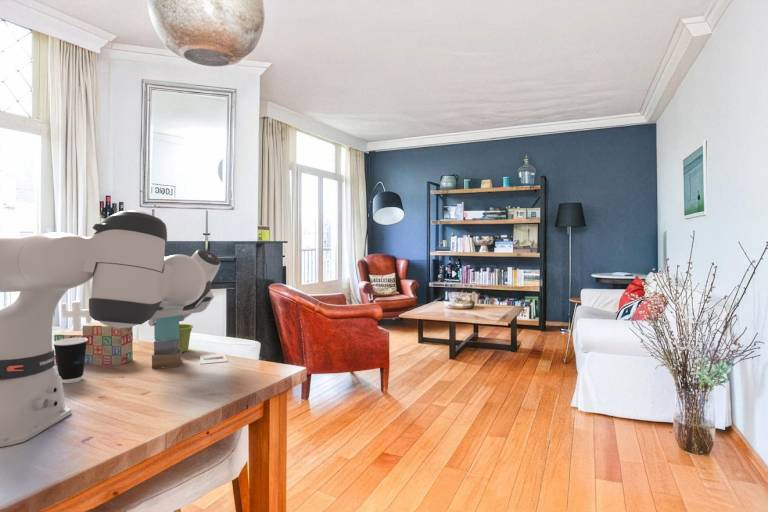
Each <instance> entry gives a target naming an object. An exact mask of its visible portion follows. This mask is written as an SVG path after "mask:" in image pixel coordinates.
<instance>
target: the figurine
mask: <svg viewBox="0 0 768 512" xmlns="http://www.w3.org/2000/svg"><path fill="white" fill-rule="evenodd" d="M71 307H72V309H68V303H67V302H63V303H61V316H62V317H63V318H65V319H66V318H72V328H69V329H66V330H65V331H64V332H66V331H83V328H82V325H81V324H82V318H85V322H86V324H90V323H92V317H91V316H90V313H89V308H88V309H87V308H86V309H82V308H81V307H82V301H81V300H79V299H78V300H73V301H71Z"/></svg>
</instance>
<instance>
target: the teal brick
mask: <svg viewBox="0 0 768 512" xmlns="http://www.w3.org/2000/svg"><path fill="white" fill-rule="evenodd" d="M156 321H157V324H156V325H155V326H153V327H154V329H153V330H154V334H153V335H154V341H155V340H158V341H163V342H165V341H170V340H175V339H179V324H180V321H179V316H172V317H166V318H160V319H157V320H156Z"/></svg>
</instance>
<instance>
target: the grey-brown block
mask: <svg viewBox="0 0 768 512" xmlns="http://www.w3.org/2000/svg"><path fill="white" fill-rule="evenodd" d="M182 353H183V352H182V349H180V340H179V339H175V340H170V341H165V342H163V341H158V340H155V339H154V342H153V354H151V369H152V368H153V369H163V368H162V367H171V368H178V367H179V365H180V364H181V363H182V360H183V357H182V355H183V354H182ZM180 362H181V363H180ZM177 366H178V367H177Z"/></svg>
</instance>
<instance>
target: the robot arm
mask: <svg viewBox="0 0 768 512" xmlns="http://www.w3.org/2000/svg"><path fill="white" fill-rule="evenodd" d="M92 229H93V230H94V231H95V232H94V234H93V235H91V236H84V235H79V234H74V233H70V232H68V233H67V232H61V231H59V232H58V231H57V232H45V233H40V234H34V235H21V236H19V235H18V236H17V235H16V236H0V293H10V292H11V293H13V292H19V295H18V296H17V298H16V300H15V301H14V302H13V303H12V304H10V305H8V306H6V307H3V308H2V309H0V448H2V447H8V446H12V445H17V444H20V443H24V442H27V441H28V440H30V439H31V438H34V437H35V436H36V435H39V434H40V433H42V432H43V431H44V430H45V431H46V429H48V428H50V427H51V426H53V425H55V424H56V423H58V422H60V421H61V420H63V419H65V418H66V417H68V416H70V415H71V414H72V408H70V407H68V406H66V405H65V395H64V387H63V383H62V378H61V377H60V376H59V374H58V373H57V372H56V369H55V368H54V366H55V365H56V363H55V349H53V342H52V340H53V339H52V338H53V323H54V322H53V321H54V315H55V311H56V309H57V307H58V305H59V303H60V301H61V299H62V298H63V296H64V295H65V294H66V292H67V291H68V290H71V289H73V288H76V287H79V286H81V285H84V284H86V283H88V281H90V280H92V281H91V292H90V293H91V295H90V296H91V297H90V298H88V309H89V313H90V316H91V319H93V321H95V322H100V323H102V324H104V325H107V326H110V327H115V328H127V327H132V326H133V327H135V326H138V325H143V324H145V323H146V322H147V323H148V325H149V326H150V327H154V326H155V325H156V324H157V321H156V320H157V319H160V318H166V317H172V316H179V322H183V321H185V320H186V318H188V317H190V316H191V315H192V314H197V313H202V312H204V311H205V310H206V309H207V308H208V306H209V305H210V303H211V302H212V301H213V300H214V299H215V296H214V294H213V292H212V282H213V280H214V279H215V277H216V275H217V273H218V271H219V269H220V266H221V260H220V259H219V257H218V256H217V255H215V254H214V253H212V252H211V251H209V250H206V249H202V248H201V249H197V250H195V252H194V253H192V255H191V256H190V255H187V254H182V253H181V254H178V253H176V254H171V255H168V256H167V255H165V252H166V242H167V241H168V231H167V230H168V228H167V225H166V223H165V222H164V221H163V220H162V219H161V218H159V217H156V216H154V215H152V214H151V213H148V212H145V211H142V210H122V211H118V212H116V213H113V214H112V215H109V216H107V217H106V218H105V219H104V220H103V221H102V222H101V223H95V224H94V225H93V226H92ZM133 327H132V328H133Z"/></svg>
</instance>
